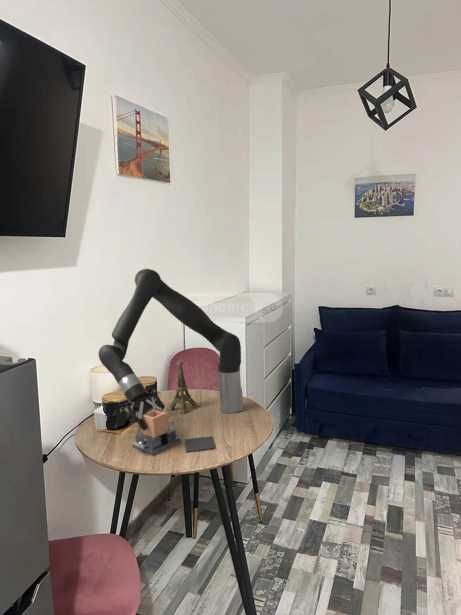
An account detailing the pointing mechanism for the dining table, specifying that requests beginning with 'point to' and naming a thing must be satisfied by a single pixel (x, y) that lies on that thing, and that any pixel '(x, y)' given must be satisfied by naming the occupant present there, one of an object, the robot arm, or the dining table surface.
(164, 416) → the collar
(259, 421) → the dining table surface
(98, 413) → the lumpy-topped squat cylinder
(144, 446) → the vise
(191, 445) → the mat
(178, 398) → the eiffel tower
